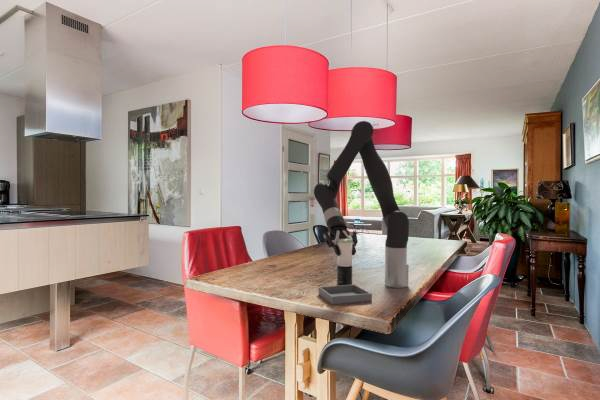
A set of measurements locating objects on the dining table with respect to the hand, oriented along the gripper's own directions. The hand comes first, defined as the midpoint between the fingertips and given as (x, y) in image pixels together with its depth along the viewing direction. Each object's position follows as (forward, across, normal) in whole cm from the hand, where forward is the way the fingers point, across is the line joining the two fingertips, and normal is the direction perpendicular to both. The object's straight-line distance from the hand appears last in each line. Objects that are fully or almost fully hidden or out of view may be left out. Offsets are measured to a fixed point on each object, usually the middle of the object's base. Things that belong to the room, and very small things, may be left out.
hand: (346, 254), depth 132 cm
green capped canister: (+2, 0, +4) cm, 5 cm away
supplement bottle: (-1, +8, +26) cm, 27 cm away
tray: (+11, 0, +13) cm, 17 cm away
